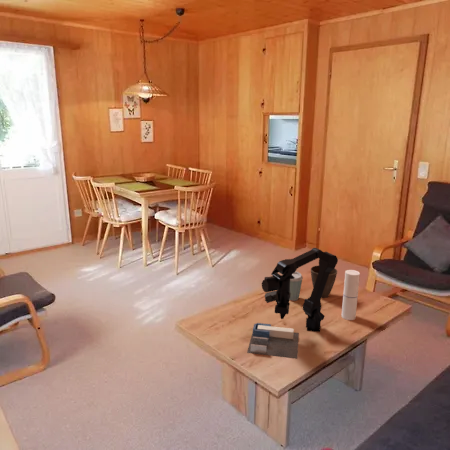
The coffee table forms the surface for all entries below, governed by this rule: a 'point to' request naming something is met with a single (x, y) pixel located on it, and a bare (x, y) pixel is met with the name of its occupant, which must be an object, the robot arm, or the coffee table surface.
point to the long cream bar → (278, 331)
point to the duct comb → (272, 344)
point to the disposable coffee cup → (295, 286)
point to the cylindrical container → (350, 294)
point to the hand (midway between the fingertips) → (282, 318)
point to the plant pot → (328, 284)
